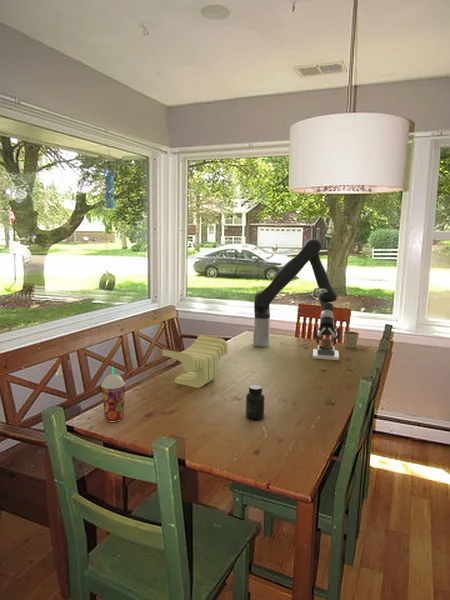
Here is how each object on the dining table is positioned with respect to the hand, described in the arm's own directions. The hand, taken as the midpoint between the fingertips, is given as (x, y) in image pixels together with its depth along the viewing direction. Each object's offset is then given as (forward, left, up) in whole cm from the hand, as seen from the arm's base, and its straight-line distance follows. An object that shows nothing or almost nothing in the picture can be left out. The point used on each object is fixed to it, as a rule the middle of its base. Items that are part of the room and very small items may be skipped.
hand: (326, 343), depth 240 cm
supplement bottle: (-27, -89, -7) cm, 93 cm away
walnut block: (0, +1, -6) cm, 6 cm away
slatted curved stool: (-59, -57, -7) cm, 82 cm away
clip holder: (0, +1, -7) cm, 7 cm away
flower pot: (+15, +24, -7) cm, 30 cm away
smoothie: (-77, -103, -7) cm, 129 cm away
